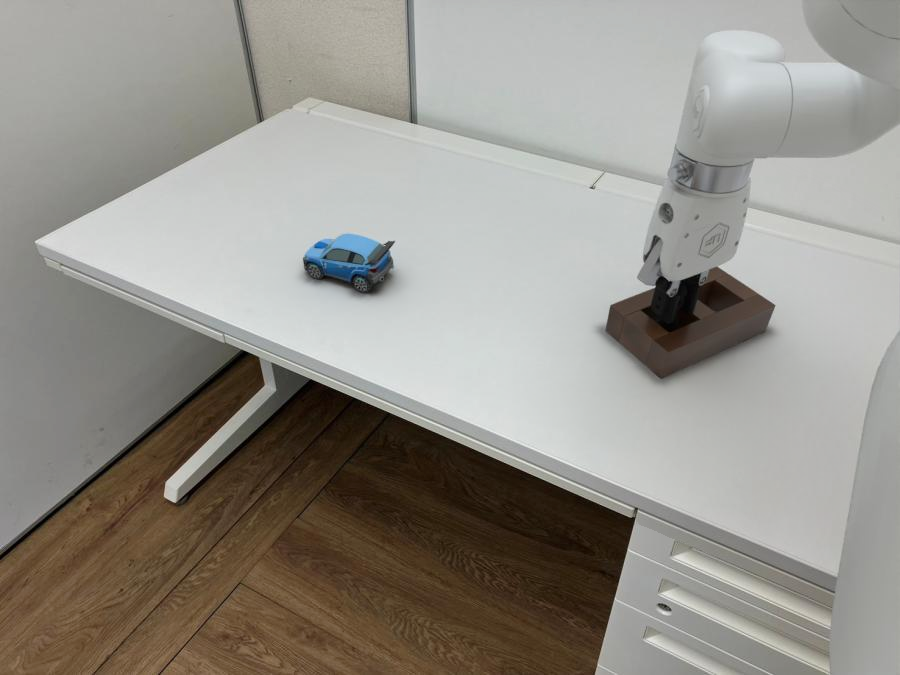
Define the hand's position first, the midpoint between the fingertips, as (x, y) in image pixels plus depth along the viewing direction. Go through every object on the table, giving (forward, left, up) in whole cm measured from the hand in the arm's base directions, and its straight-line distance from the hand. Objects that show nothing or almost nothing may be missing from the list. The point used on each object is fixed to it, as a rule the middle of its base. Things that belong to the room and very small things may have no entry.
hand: (671, 311), depth 81 cm
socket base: (0, -4, -5) cm, 6 cm away
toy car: (+31, +27, -5) cm, 42 cm away
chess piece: (0, 0, -5) cm, 5 cm away
